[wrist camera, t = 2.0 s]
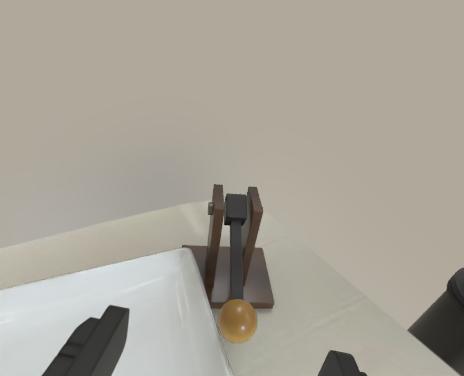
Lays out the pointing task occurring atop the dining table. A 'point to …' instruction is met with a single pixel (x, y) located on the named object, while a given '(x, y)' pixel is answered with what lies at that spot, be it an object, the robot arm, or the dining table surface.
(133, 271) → the square plate
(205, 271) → the latch bracket
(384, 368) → the dining table surface
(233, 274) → the lever
